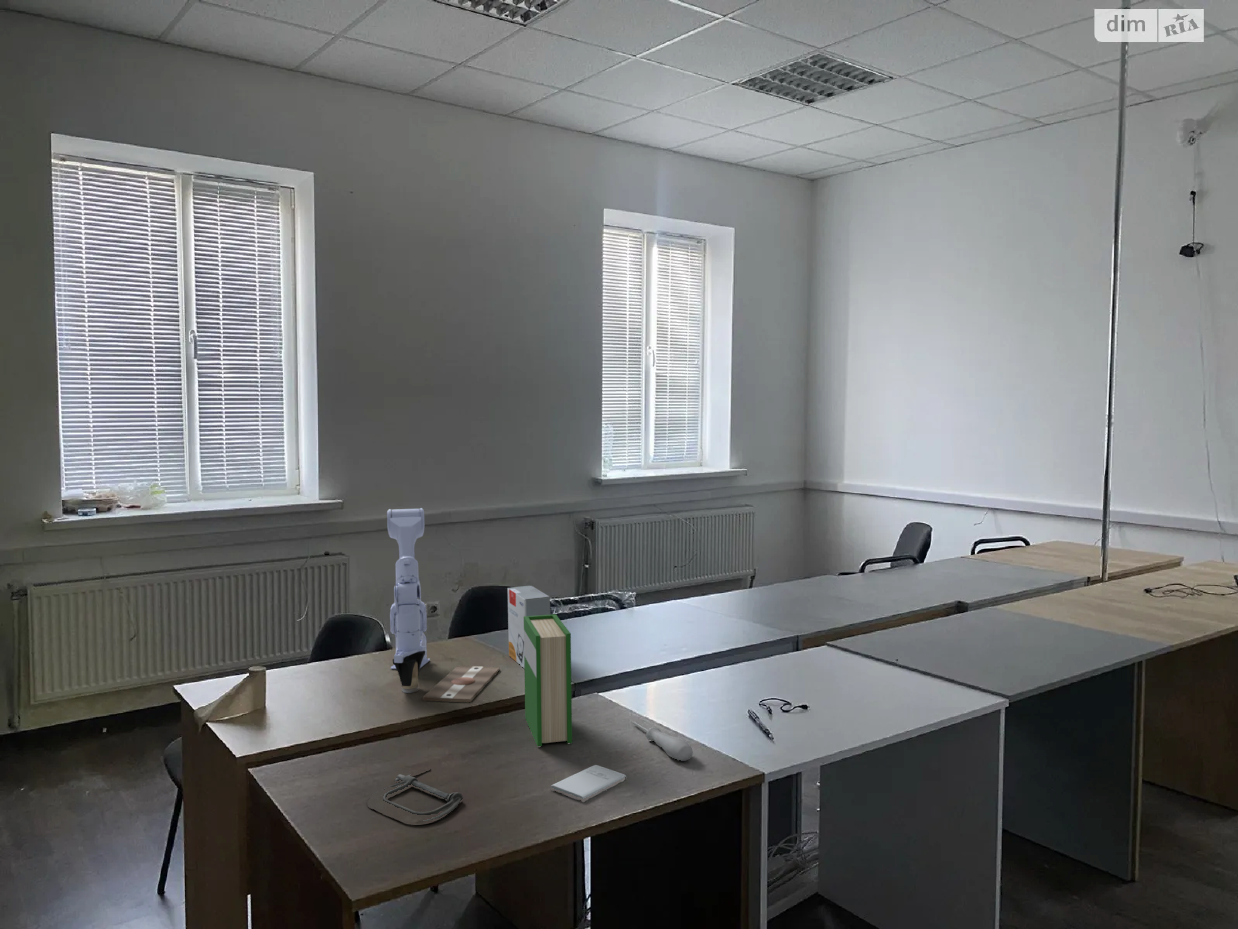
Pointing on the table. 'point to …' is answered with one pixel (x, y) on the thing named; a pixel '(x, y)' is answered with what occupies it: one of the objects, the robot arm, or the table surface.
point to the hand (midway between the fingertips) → (409, 683)
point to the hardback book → (547, 679)
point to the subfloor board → (461, 684)
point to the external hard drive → (588, 781)
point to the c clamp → (451, 798)
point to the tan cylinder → (414, 681)
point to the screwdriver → (669, 743)
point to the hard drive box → (521, 605)
